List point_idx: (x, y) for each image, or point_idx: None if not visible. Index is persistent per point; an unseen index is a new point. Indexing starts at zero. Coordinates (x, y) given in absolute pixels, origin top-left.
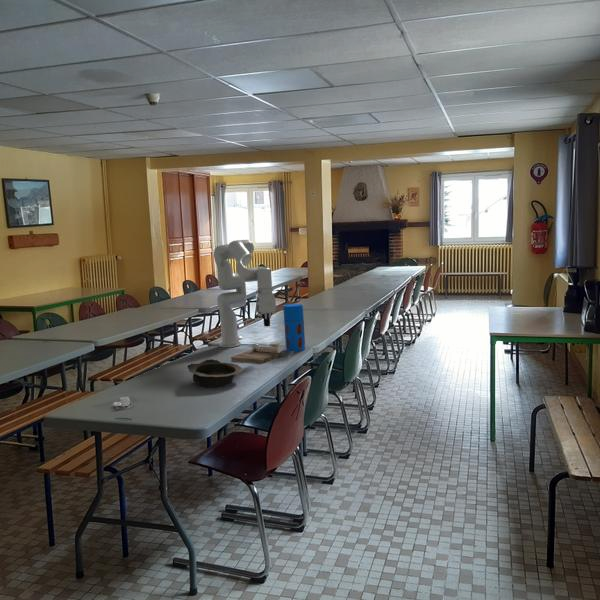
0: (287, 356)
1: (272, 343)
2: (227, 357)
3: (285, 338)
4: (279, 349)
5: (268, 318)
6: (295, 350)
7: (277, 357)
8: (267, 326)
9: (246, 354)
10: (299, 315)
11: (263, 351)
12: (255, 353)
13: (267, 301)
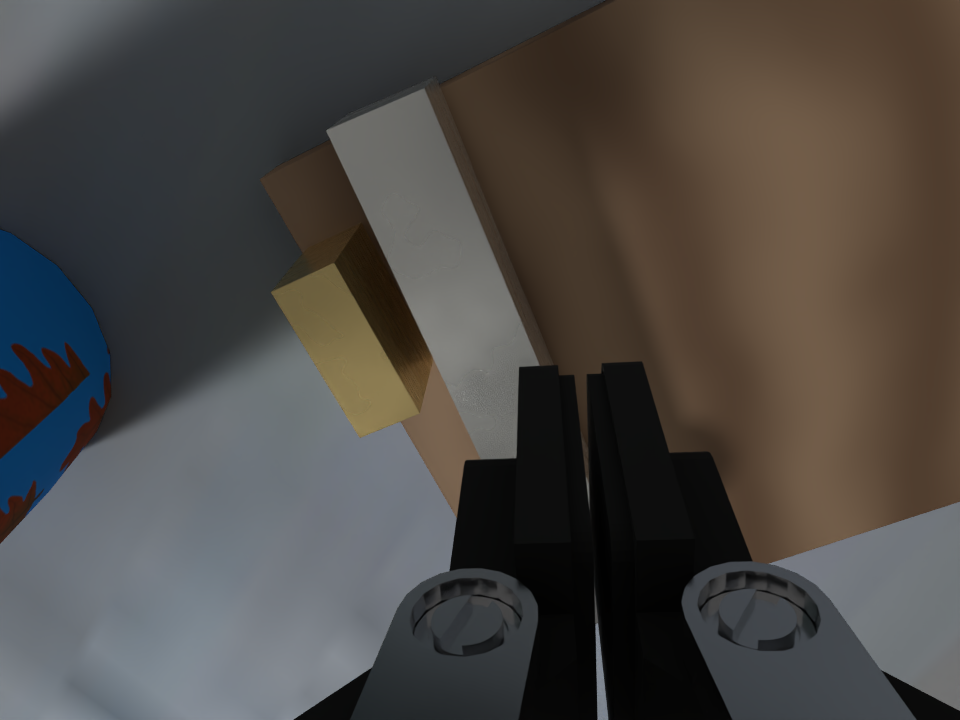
0: (276, 27)
1: (348, 412)
2: (918, 624)
3: (14, 498)
4: (373, 106)
5: (539, 617)
6: (11, 244)
7: (448, 80)
8: (634, 369)
9: (810, 439)
10: None
11: (551, 364)
12: (675, 396)
13: None
